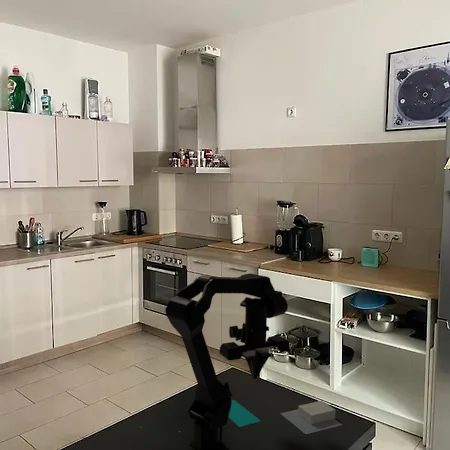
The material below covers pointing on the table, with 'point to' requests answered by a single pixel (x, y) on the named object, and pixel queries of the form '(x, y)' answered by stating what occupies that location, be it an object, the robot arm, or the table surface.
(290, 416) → the mat
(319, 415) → the box
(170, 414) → the table surface
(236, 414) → the flat teal tile
